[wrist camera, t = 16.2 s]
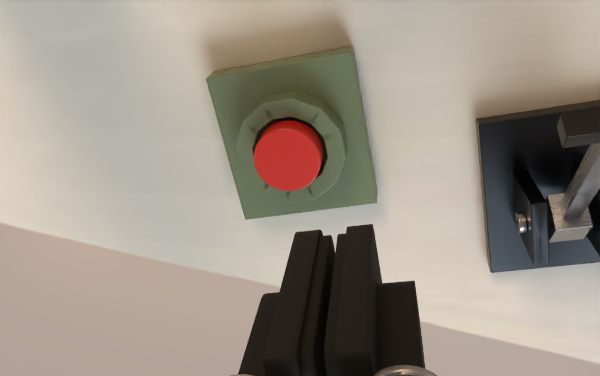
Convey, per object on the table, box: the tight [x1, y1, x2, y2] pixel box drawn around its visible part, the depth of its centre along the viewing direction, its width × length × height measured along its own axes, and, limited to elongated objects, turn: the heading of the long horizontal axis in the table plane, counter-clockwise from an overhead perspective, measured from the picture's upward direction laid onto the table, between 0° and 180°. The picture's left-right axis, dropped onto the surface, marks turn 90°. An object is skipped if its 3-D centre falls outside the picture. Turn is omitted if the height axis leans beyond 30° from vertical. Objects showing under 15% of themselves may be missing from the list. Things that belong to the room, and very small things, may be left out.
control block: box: [206, 46, 377, 220], centre depth 39 cm, size 11×10×4 cm
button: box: [254, 120, 323, 191], centre depth 37 cm, size 4×4×2 cm
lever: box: [546, 108, 600, 243], centre depth 31 cm, size 15×5×2 cm
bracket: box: [476, 100, 600, 273], centre depth 37 cm, size 12×9×6 cm
